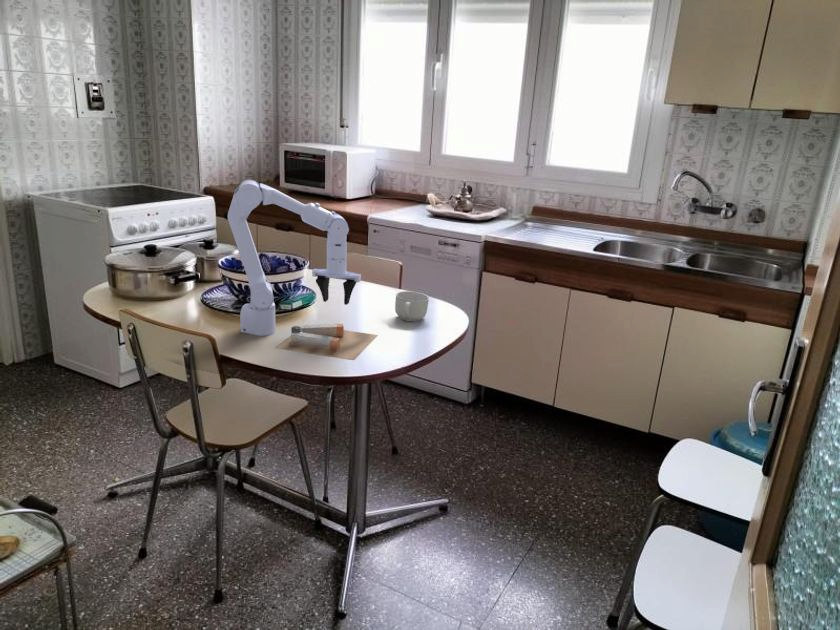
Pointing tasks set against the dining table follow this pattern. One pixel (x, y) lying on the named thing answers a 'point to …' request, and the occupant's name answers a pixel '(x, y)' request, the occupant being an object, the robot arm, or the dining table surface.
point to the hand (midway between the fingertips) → (336, 302)
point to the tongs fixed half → (314, 340)
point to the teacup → (411, 305)
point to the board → (349, 345)
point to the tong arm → (324, 329)
